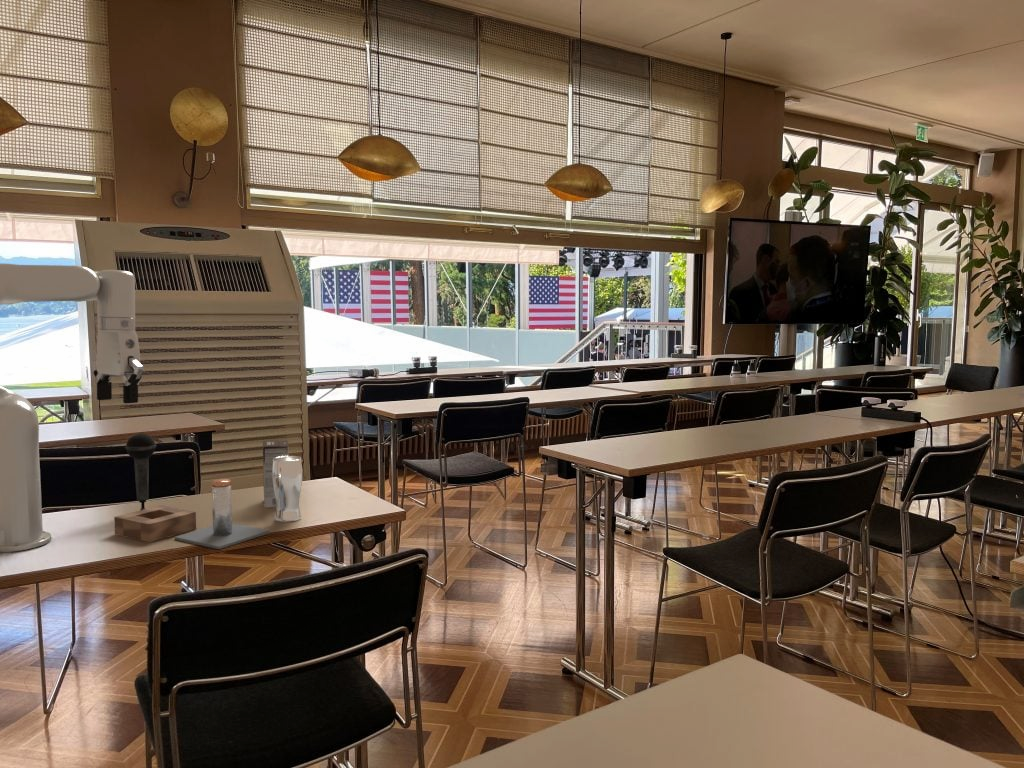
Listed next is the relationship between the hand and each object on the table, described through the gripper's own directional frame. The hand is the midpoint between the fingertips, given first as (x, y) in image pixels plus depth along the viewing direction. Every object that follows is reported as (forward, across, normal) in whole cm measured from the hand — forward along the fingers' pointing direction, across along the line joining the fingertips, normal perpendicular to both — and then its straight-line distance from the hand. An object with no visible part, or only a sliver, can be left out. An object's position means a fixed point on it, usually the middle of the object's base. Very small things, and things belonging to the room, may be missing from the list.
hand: (117, 401), depth 171 cm
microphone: (+30, +9, -12) cm, 33 cm away
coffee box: (+29, -11, -37) cm, 48 cm away
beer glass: (+29, -26, -27) cm, 47 cm away
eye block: (+30, -8, -4) cm, 31 cm away
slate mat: (+29, -24, -9) cm, 39 cm away
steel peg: (+29, -24, -9) cm, 38 cm away
